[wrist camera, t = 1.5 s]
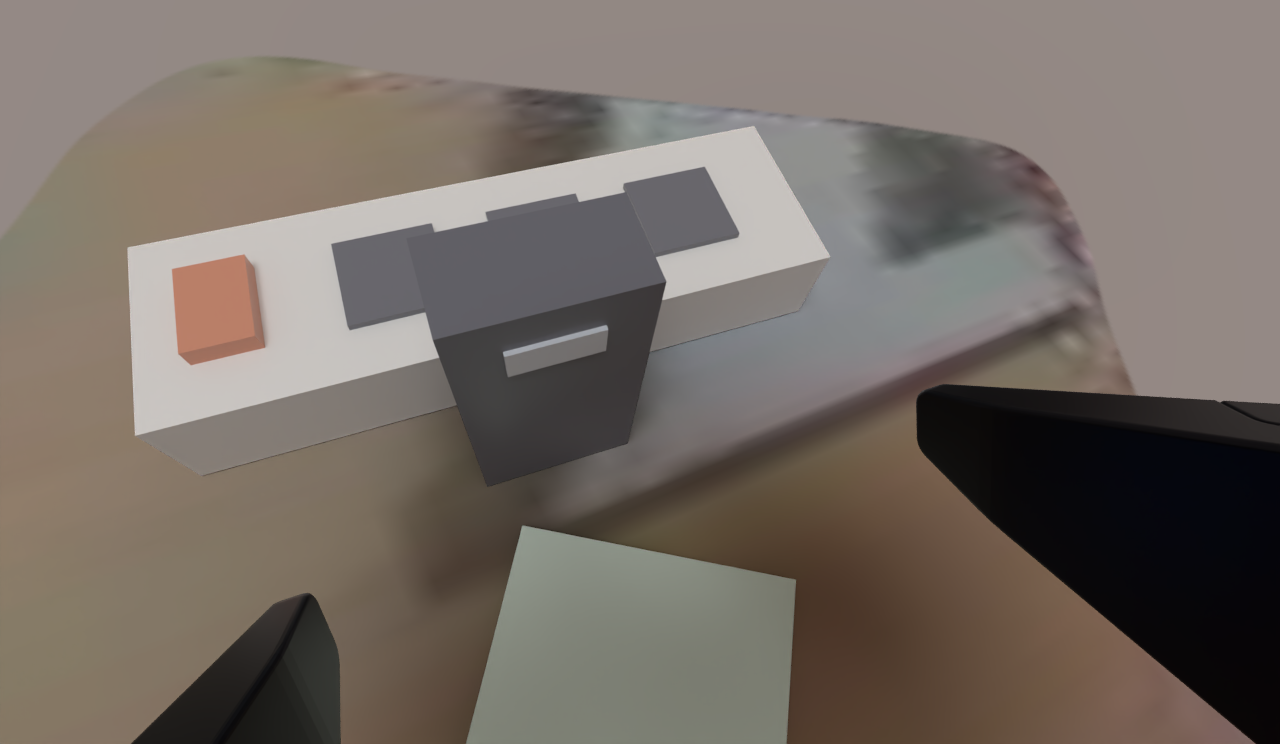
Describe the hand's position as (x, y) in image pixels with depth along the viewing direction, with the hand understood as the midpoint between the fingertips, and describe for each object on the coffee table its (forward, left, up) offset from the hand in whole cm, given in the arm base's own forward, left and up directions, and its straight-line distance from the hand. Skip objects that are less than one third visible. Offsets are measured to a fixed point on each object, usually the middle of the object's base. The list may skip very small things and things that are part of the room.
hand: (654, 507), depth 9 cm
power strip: (+6, -10, -12) cm, 17 cm away
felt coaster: (-1, +2, -12) cm, 13 cm away
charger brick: (+3, -6, -12) cm, 14 cm away
